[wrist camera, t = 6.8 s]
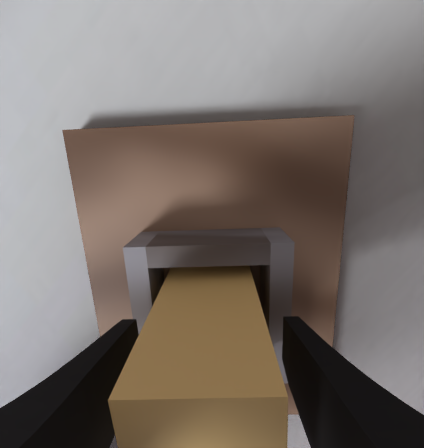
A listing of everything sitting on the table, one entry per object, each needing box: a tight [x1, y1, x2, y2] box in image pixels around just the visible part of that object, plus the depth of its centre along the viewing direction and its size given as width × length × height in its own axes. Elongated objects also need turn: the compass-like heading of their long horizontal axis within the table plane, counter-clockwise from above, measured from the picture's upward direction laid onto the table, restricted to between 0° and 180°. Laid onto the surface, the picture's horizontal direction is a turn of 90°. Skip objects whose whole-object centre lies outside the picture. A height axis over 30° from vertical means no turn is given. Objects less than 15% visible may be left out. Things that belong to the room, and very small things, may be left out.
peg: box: [108, 266, 288, 448], centre depth 10 cm, size 4×4×8 cm
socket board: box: [62, 115, 354, 414], centre depth 13 cm, size 18×14×4 cm
